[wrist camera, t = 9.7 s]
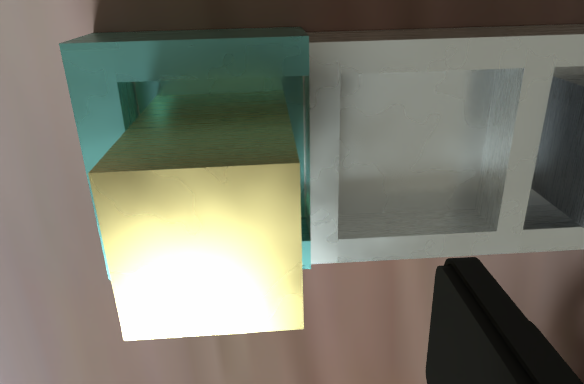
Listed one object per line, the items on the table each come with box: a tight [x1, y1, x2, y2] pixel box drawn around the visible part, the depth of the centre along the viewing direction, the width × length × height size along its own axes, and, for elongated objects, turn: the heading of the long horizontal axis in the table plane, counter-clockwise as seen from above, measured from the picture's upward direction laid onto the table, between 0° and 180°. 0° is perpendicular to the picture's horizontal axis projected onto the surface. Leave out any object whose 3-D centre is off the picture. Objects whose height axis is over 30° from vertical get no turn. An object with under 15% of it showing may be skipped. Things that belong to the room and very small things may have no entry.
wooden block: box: [88, 90, 304, 341], centre depth 15 cm, size 4×4×8 cm
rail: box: [59, 24, 584, 280], centre depth 18 cm, size 23×8×3 cm, turn 91°
